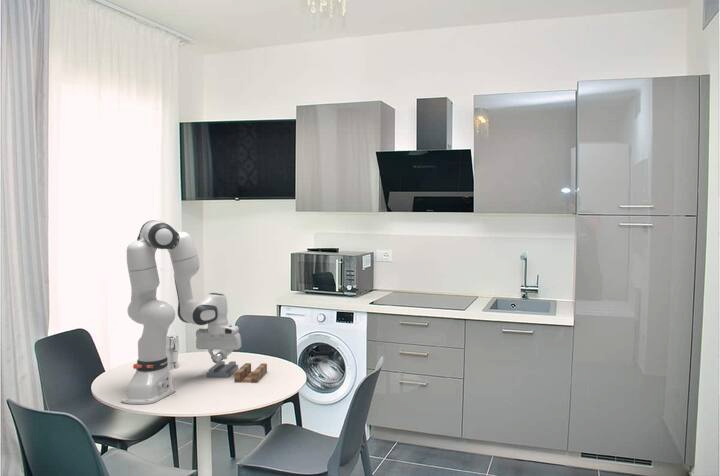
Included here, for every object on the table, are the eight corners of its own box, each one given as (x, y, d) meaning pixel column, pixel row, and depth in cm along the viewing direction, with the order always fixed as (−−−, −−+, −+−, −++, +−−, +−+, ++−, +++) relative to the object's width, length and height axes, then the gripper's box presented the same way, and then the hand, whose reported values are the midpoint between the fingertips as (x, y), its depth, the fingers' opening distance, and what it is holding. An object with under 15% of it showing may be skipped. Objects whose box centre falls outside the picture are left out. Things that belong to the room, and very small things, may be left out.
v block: (228, 380, 251) (227, 370, 251) (206, 379, 252) (206, 369, 252) (238, 370, 265) (238, 361, 265) (217, 370, 266) (217, 361, 266)
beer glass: (174, 364, 277) (173, 334, 276) (182, 367, 272) (181, 336, 272) (161, 368, 271) (160, 337, 271) (169, 370, 267) (168, 339, 266)
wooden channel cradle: (256, 385, 244) (256, 373, 243) (234, 384, 245) (234, 373, 245) (267, 374, 260) (266, 363, 259) (245, 373, 261) (245, 363, 260)
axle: (220, 363, 250) (220, 354, 250) (212, 363, 251) (212, 354, 250) (232, 353, 266) (232, 345, 266) (224, 353, 267) (224, 345, 266)
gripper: (192, 330, 251) (194, 360, 252) (237, 330, 248) (238, 361, 249) (198, 326, 257) (199, 356, 258) (242, 327, 255) (243, 357, 256)
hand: (219, 358), depth 254 cm, fingers closed on axle, 4 cm apart
